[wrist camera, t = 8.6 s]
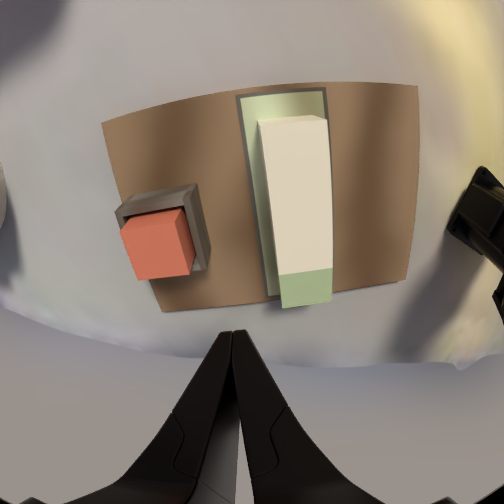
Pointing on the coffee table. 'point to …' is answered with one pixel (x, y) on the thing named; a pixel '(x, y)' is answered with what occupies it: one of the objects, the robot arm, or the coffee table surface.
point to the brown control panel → (254, 184)
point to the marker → (299, 206)
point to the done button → (159, 243)
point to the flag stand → (2, 197)
